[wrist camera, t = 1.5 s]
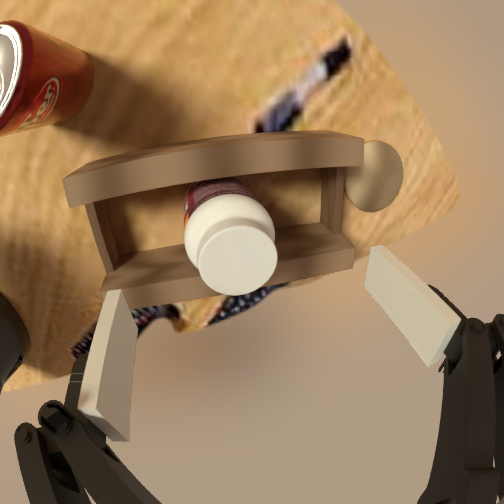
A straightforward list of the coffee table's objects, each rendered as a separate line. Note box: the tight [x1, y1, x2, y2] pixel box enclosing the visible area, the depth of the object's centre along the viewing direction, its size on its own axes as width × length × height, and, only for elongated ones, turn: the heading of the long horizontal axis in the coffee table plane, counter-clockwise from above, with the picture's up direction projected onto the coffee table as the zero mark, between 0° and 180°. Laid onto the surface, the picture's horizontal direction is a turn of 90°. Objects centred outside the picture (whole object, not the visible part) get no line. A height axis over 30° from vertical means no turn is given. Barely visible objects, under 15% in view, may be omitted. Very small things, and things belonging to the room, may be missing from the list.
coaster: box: [344, 141, 403, 212], centre depth 27 cm, size 8×8×1 cm
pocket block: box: [62, 131, 364, 310], centre depth 23 cm, size 22×12×6 cm, turn 94°
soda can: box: [0, 20, 94, 137], centre depth 11 cm, size 7×7×12 cm
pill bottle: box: [184, 176, 277, 295], centre depth 21 cm, size 6×6×11 cm
